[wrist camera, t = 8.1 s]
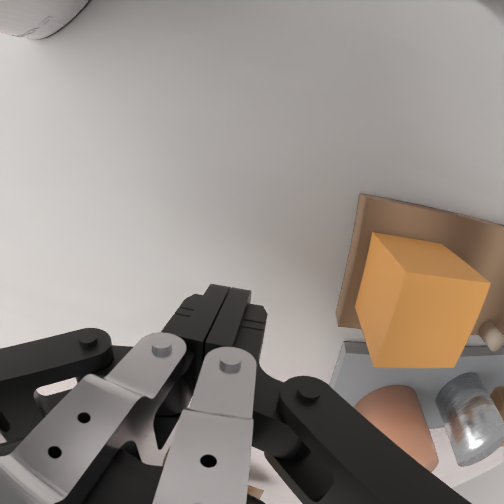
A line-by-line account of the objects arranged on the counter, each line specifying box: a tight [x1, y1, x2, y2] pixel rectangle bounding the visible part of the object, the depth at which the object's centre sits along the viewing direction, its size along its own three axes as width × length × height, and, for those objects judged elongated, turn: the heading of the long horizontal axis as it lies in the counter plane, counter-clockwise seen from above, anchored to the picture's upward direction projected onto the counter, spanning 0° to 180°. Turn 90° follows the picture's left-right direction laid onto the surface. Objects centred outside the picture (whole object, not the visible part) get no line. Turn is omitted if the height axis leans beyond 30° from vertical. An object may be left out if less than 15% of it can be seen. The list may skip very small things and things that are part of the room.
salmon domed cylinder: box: [354, 385, 439, 472], centre depth 15 cm, size 5×5×6 cm
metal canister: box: [436, 372, 504, 467], centre depth 14 cm, size 4×4×6 cm
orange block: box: [355, 232, 491, 368], centre depth 11 cm, size 4×4×5 cm
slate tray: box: [329, 341, 504, 429], centre depth 17 cm, size 8×21×1 cm, turn 85°
